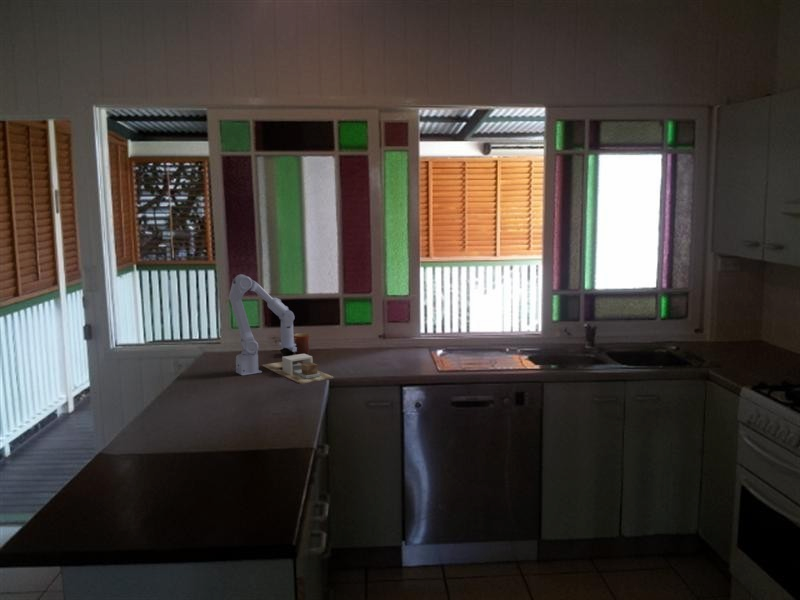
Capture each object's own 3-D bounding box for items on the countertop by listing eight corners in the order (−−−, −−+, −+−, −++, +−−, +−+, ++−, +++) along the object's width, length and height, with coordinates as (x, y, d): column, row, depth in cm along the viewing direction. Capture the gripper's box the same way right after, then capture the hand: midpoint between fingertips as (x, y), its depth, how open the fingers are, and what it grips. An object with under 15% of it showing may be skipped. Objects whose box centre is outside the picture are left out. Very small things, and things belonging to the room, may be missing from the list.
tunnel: (290, 374, 276) (290, 360, 275) (282, 371, 282) (282, 356, 281) (312, 371, 282) (312, 356, 281) (304, 367, 289) (304, 353, 288)
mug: (302, 352, 325) (301, 332, 323) (314, 354, 319) (313, 334, 318) (284, 356, 315) (284, 336, 314) (297, 358, 310) (296, 338, 308)
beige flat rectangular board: (300, 384, 263) (300, 382, 263) (261, 366, 294) (261, 364, 294) (333, 378, 273) (333, 376, 273) (292, 361, 304) (292, 359, 304)
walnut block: (307, 375, 270) (307, 366, 269) (301, 373, 274) (301, 364, 273) (317, 373, 273) (317, 364, 272) (312, 371, 277) (311, 362, 276)
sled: (306, 378, 268) (306, 369, 268) (282, 368, 287) (282, 359, 286) (320, 376, 273) (320, 367, 272) (296, 365, 291) (296, 357, 290)
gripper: (302, 336, 285) (303, 366, 286) (288, 332, 296) (288, 360, 298) (288, 338, 280) (289, 368, 282) (274, 333, 292) (275, 362, 294)
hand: (287, 364), depth 290 cm, fingers closed
